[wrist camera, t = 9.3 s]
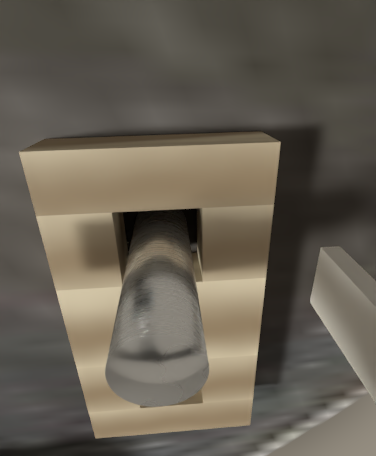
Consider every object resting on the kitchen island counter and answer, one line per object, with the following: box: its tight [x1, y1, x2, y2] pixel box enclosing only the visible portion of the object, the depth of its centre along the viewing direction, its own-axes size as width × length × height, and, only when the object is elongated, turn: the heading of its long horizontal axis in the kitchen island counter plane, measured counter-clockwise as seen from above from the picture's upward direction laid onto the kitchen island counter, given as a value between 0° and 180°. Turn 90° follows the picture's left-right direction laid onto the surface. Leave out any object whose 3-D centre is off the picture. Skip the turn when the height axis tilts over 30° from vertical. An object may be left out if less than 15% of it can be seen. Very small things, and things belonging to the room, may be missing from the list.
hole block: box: [19, 131, 281, 438], centre depth 19 cm, size 20×11×3 cm, turn 1°
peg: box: [105, 209, 209, 407], centre depth 13 cm, size 3×3×10 cm
